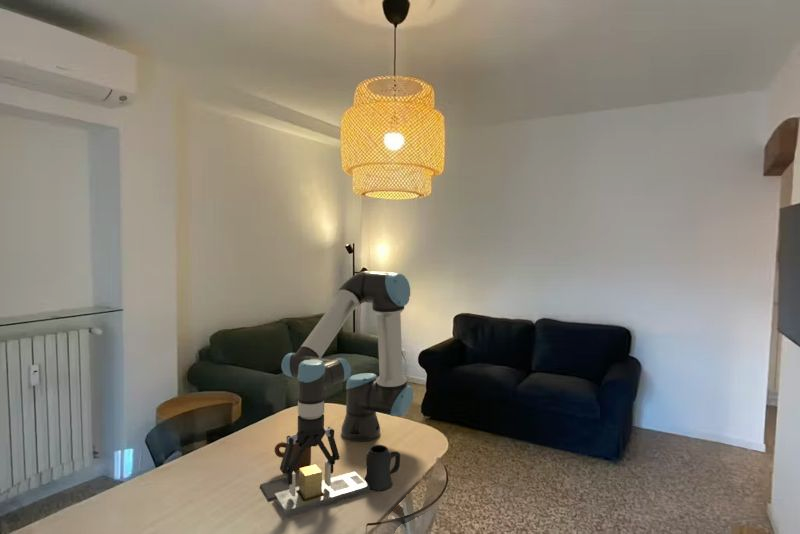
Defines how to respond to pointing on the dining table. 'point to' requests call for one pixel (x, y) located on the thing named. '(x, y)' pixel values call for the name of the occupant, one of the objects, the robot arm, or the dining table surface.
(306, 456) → the mug
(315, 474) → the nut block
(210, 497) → the dining table surface
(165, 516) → the dining table surface
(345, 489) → the grey board with slots
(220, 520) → the dining table surface
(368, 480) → the mug
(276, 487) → the rubber mat
